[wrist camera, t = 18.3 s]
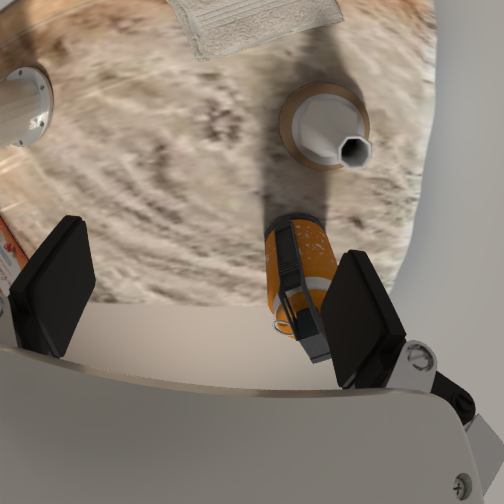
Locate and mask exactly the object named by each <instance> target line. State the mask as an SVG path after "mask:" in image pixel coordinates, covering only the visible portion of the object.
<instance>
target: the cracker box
mask: <svg viewBox="0 0 504 504" xmlns="http://www.w3.org/2000/svg"><path fill="white" fill-rule="evenodd" d="M27 262H28V259H27V258H26V257H25V255H24V254H23V252H22V251H21V249H20V248H19V246H18V245H17V243H16V242H15V240H14V238H13V237H12V235H11V234H10V232H9V230H8V229H7V227H6V226H5V224H4V222H3V220H2V219H1V217H0V293H1V294H3V295H5V296H6V297H8V295H9V293H10V292H9V288H10V286H11V285H12V283H13V282H14V280H15V279H16V278H17V276H18V275H19V273H20V272H21V271H22V269H23V268H24V266H25V265H26V264H27Z"/></svg>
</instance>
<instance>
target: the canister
mask: <svg viewBox="0 0 504 504" xmlns="http://www.w3.org/2000/svg"><path fill="white" fill-rule="evenodd" d="M265 256H266V274H267V293H268V305H269V308H270V310H271V312H272V313H273V314H274V320H275V321H274V323H273V328H274V329H275V330H276V331H277V332H279V333H280V334H283V335H286V336H289V337H291V338H294V339H296V341H299V342H300V344H301V345H302V347H303V348H304V350H305V351H306V353H307V354H308V356H309V357H310V360H311V362H312V363H313V364H314V363H318V362H321V361H324V360H327V359H330V358H332V357H331V353H330V349H329V345H328V341H327V337H326V333H325V329H324V325H323V321H322V317H321V313H320V308H321V304H322V302H323V299H324V297H325V295H326V293H327V291H328V288H329V286H330V284H331V281H332V279H333V277H334V274H335V272H336V270H337V267H338V265H337V262H336V259H335V257H334V254H333V251H332V248H331V246H330V243H329V240H328V237H327V235H326V232H325V229H324V227H323V226H322V224H321V223H320V222H319V221H318V220H317V219H315V218H314V217H312V216H309V215H306V214H300V213H295V214H288V215H285V216H283V217H281V218H279V219H277V220H276V221H275V222H274V223H272V224H271V226H270V227H269V228H268V230H267V232H266V235H265ZM275 323H276V325H277V327H278V328H279V329H280V330H281V331H280V330H278V329H277V328H276V327H275Z"/></svg>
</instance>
